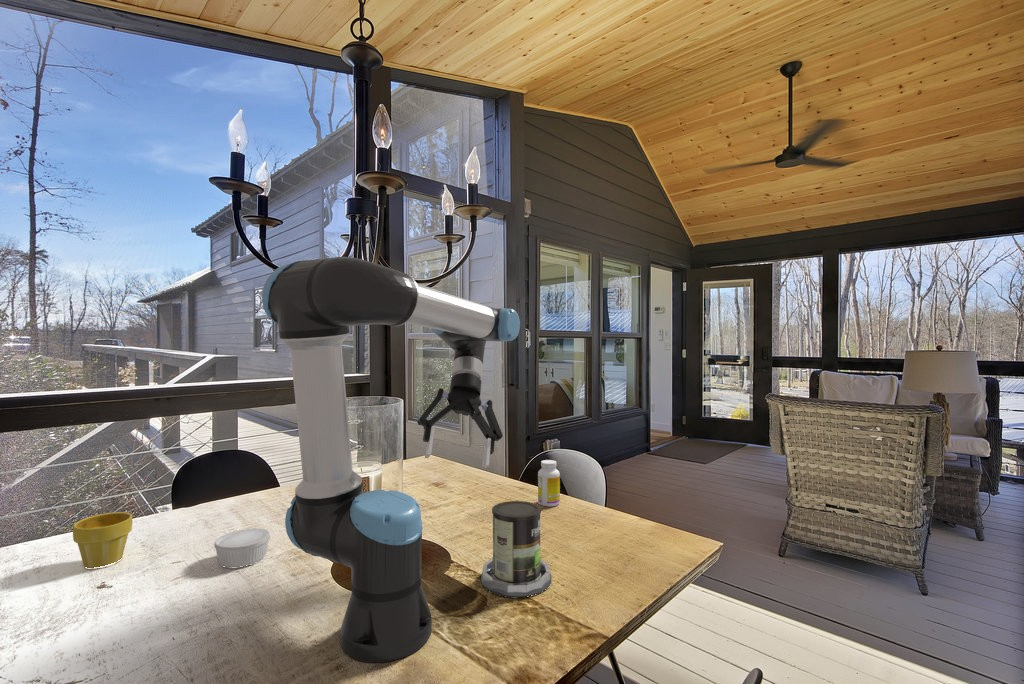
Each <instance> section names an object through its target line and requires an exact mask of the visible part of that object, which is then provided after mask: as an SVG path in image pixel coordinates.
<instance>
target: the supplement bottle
mask: <svg viewBox="0 0 1024 684" xmlns="http://www.w3.org/2000/svg"><path fill="white" fill-rule="evenodd" d="M557 463H558V462H557V461H556V460H552V459H545V460H544V459H543V460H541V461H540V466H541V468H540V469H539V470H538V471H537V485H538V486H537V502H538V504H539V506H542V507H547V508H549V507H556V506H559V505H560V504H561V503H560V502H561V496H560V495H561V493H560V492H561V490H560V489H561V485H560V484H561V480H560V479H561V475H560V474H561V473H560V470H558V469H557Z"/></svg>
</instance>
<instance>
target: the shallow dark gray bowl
mask: <svg viewBox="0 0 1024 684" xmlns="http://www.w3.org/2000/svg"><path fill="white" fill-rule="evenodd" d="M540 572H541V577H540V579H538V580H535V581H532V582H528V583H505V582H502V581H498V580H494V578H493V557H491V558H490V559H489V560H488V561H486V562H485V563H484V564H483V565H482V572H481V575H480V582H481V585H482V587H483V588H484V589H485V590H486V589H487V590H488V592H489V591H490V592H492V593H491V594H493V593H494V594H493V595H495V594H497V595H496V596H498V595H500V596H499V597H502V596H506V597H505V598H507V597H526V598H528V597H527V596H531V595H535V594H538V593H540V592H542V591H544V590H545V589H547V588H548V587H549V586H551V585H552V574H551V570H550V565H549V563H548V562H546V561H544V560H543V559H542V558H540ZM550 584H551V585H550ZM549 588H550V587H549ZM549 588H548V589H549ZM548 589H547V590H548ZM487 590H486V591H487ZM490 592H489V593H490ZM544 592H545V591H544ZM542 593H543V592H542ZM540 594H541V593H540ZM538 595H539V594H538ZM535 596H536V595H535Z"/></svg>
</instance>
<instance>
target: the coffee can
mask: <svg viewBox="0 0 1024 684" xmlns="http://www.w3.org/2000/svg"><path fill="white" fill-rule="evenodd" d="M491 513H492V558H493V578H494V580H498V581H502V582H505V583H528V582H532V581H535V580H538V579H540V577H541V572H540V559H541V513H542V509H541V506H540V505H538V504H536V503H535V502H534V503H533V502H529V501H521V500H512V501H504V502H499V503H496V504H495V505H494V506H492V508H491Z"/></svg>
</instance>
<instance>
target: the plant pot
mask: <svg viewBox="0 0 1024 684" xmlns="http://www.w3.org/2000/svg"><path fill="white" fill-rule="evenodd" d="M132 529H133V514H132V513H129V512H125V511H124V512H123V511H115V512H106V513H101V514H94V515H92V516H89V517H86V518H85V517H84V518H83V519H80V520H78V521H76V522H75V523H74V524H73V526H72V539H73V542H74V543H75V544H77V546H78V549H79V553H80V557H81V561H82V564H83V567H84V566H85V567H87V568H94V567H100V566H105V565H108V564H111V563H114V562H117V561H118V560H120V559H121V558H122V559H123V555H124V551H125V548H126V544H127V540H128V536H129V533H130V532H131V531H132ZM122 559H121V560H122Z"/></svg>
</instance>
